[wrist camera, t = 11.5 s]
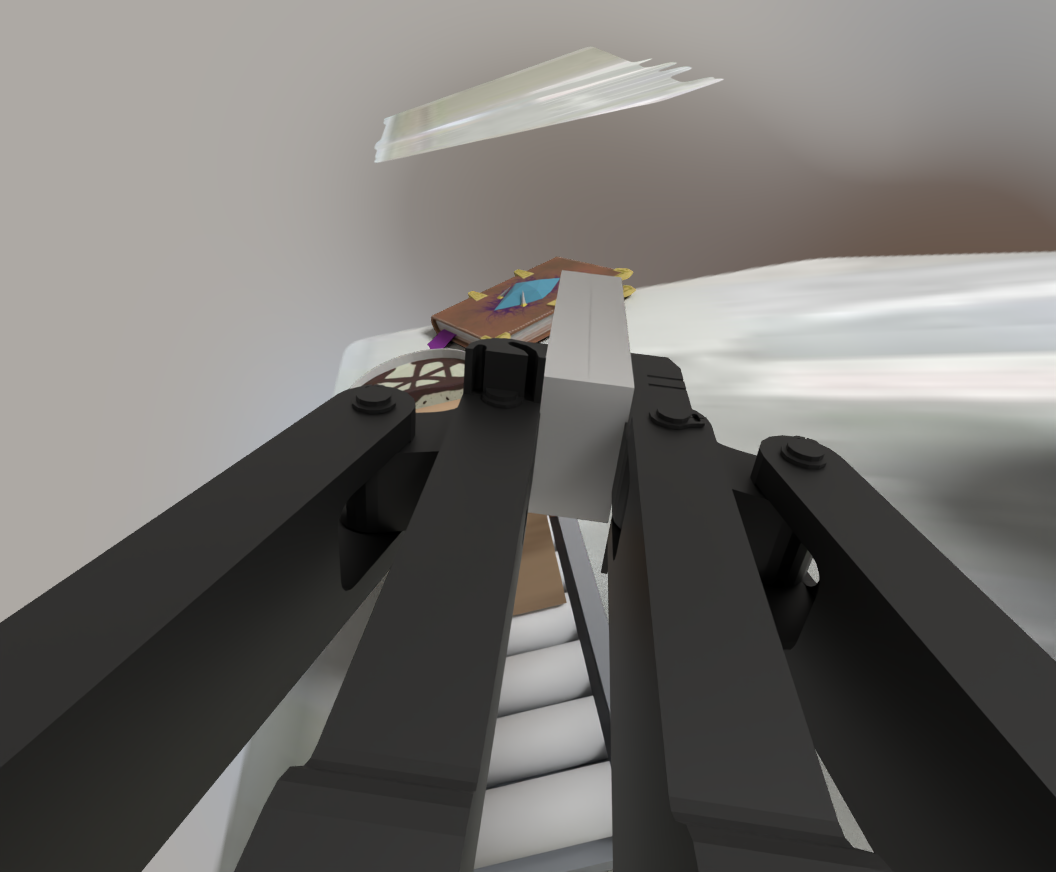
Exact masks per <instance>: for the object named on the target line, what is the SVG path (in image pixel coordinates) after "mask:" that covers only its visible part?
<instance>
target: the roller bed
mask: <svg viewBox="0 0 1056 872" xmlns="http://www.w3.org/2000/svg"><path fill="white" fill-rule="evenodd" d="M547 518H548V523H549V527H550V531H551V536H552V540H553V545H554V549H555V553H556V558H557V562H558V566H559V571H560V575H561V580H562V584H563V588H564V593H565V597H566V601H567V603H564V604H560V605H556V606H551V607H547V608H543V609H539V610H534V611H530V612H526V613H522V614H518V615H513V616H512V623H511V629H510V636H509V642H508V649H507V655H506V662H505V668H504V675H503V681H502V688H501V694H500V701H499V707H498V714H497V721H496V727H495V734H494V740H493V747H492V753H491V760H490V766H489V773H488V779H487V786H486V792H485V799H484V805H483V812H482V818H481V825H480V831H479V838H478V844H477V851H476V857H475V864H474V870H473V872H605V871H610V870H613V843H612V783H611V723H610V663H609V623H608V620H607V617H606V613H605V610H604V607H603V603H602V600H601V597H600V593H599V590H598V587H597V583H596V580H595V577H594V573H593V570H592V567H591V563H590V560H589V557H588V553H587V550H586V547H585V543H584V540H583V537H582V533H581V530H580V527H579V523H578V520H577V519H573V518H566V517H559V516H551V515H547Z"/></svg>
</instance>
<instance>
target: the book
mask: <svg viewBox="0 0 1056 872" xmlns="http://www.w3.org/2000/svg"><path fill="white" fill-rule="evenodd" d="M562 270H565V271H573V272H581V273H589V274H598V275H606V276H614V277H621V278H622V280H624V279H628V278H629V277H630V276H631V275H632V274H633V271H631V270H629V269H625V268H616V269H611V268H607V267H602V266H598V265H593V264H589V263H584V262H580V261H575V260H571V259H566V258H562V257H555V258H553V259H551V260H549V261H547V262H545V263H543V264H541V265H538V266H536V267H534V268H532V269H530V270H528V271H522V270H519V269H518V270H516V271H514V274H515V277H513V278H511V279H509V280H507V281H505V282H502V283H500V284H498V285H496V286H494V287H492V288H490V289H488V290H485V291H483V292H481V293H478V292H475V291H471V292H469V293H468V295H469V298H468V299H467V300H464V301H462V302H460V303H458V304H456V305H454V306H452V307H449V308H447V309H445V310H443V311H441V312H439V313H437V314H435V315H433V316H432V317H431V322H432V326H433V328H434V330H435V331H436V333H437V336H436V337H435V338H434V339H433V340H432V341H431V342H430V343H428V344H427V345H428V346H429V347H430V349H441V348H444V347H445V346H446V345H447V344H448V343H449V342H450V341H452V342H454V343H457V344H459V345H461V346H463V347H465V348H466V347H467V346H468V345H469V344H470V343H472V342H475V341H478V340H481V339H489V338H508V339H515V340H520V341H525V342H533V343H536V342H538V341H540V340H542V339H544V338H546V337H547V336H549V335H550V332H551V326H552V321H553V316H554V310H555V305H556V299H557V294H558V288H559V283H560V277H561V272H562ZM622 286H623V295H624V297H627V296H630V295H631V294H632V293H633V292H635V291H636V289H635V288H633V287H631V286H627V285H623V282H622Z"/></svg>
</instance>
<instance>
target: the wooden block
mask: <svg viewBox="0 0 1056 872" xmlns="http://www.w3.org/2000/svg"><path fill="white" fill-rule="evenodd" d="M460 400H461V399H458V400H453V401H449V402H445V403H440V404H436V405H432V406H428V407H423V408H419V409H416V413H422V412H439V411H446V410H450V409H455V408H457V407H458V405H459V402H460ZM564 603H567V601H566V597H565V593H564V588H563V584H562V580H561V575H560V571H559V566H558V562H557V558H556V553H555V549H554V545H553V540H552V536H551V531H550V527H549V523H548V518H547V515H544V514H536V513H529V512H528V515H527V524H526V531H525V538H524V544H523V551H522V558H521V564H520V571H519V577H518V584H517V590H516V597H515V603H514V610H513V615H518V614H522V613H526V612H530V611H534V610H539V609H543V608H547V607H551V606H556V605H560V604H564Z"/></svg>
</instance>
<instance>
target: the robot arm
mask: <svg viewBox="0 0 1056 872" xmlns="http://www.w3.org/2000/svg"><path fill="white" fill-rule="evenodd" d="M611 505H612V519H611V524H610V529H609V534H608V539H607V544H606V549H605V554H604V559H603V564H602V569H601V573H605V574H607V572H608V603H609V663H610V723H611V783H612V843H613V872H1056V661H1055V660H1054V659H1052V658H1051V657H1050V656H1049V655H1048V654H1047V653H1046V652H1045V651H1044V650H1043V649H1042V648H1041V647H1040V646H1039V645H1038V644H1037V643H1036V642H1035V641H1034V640H1033V639H1032V638H1030V637H1029V636H1028V635H1027V634H1026V633H1025V632H1024V631H1023V630H1022V629H1021V628H1020V627H1019V626H1018V625H1017V624H1016V623H1015V622H1014V621H1013V620H1012V619H1011V618H1010V617H1008V616H1007V615H1006V614H1005V613H1004V612H1003V611H1002V610H1001V609H1000V608H999V607H998V606H997V605H996V604H995V603H994V602H993V601H992V600H991V599H990V598H989V597H987V596H986V595H985V594H984V593H983V592H982V591H981V590H980V589H979V588H978V587H977V586H976V585H975V584H974V583H973V582H972V581H971V580H970V579H969V578H968V577H967V576H965V575H964V574H963V573H962V572H961V571H960V570H959V569H958V568H957V567H956V566H955V565H954V564H953V563H952V562H951V561H950V560H949V559H948V558H947V557H946V556H944V555H943V554H942V553H941V552H940V551H939V550H938V549H937V548H936V547H935V546H934V545H933V544H932V543H931V542H930V541H929V540H928V539H927V538H926V537H925V536H924V535H922V534H921V533H920V532H919V531H918V530H917V529H916V528H915V527H914V526H913V525H912V524H911V523H910V522H909V521H908V520H907V519H906V518H905V517H904V516H903V515H901V514H900V513H899V512H898V511H897V510H896V509H895V508H894V507H893V506H892V505H891V504H890V503H889V502H888V501H887V500H886V499H885V498H884V497H883V496H882V495H881V494H879V493H878V492H877V491H876V490H875V489H874V488H873V487H872V486H871V485H870V484H869V483H868V482H867V481H866V480H865V479H864V478H863V477H862V476H861V475H860V474H859V473H857V472H856V471H855V470H854V469H853V468H852V467H851V466H850V465H849V464H848V463H847V462H846V461H845V460H844V459H843V458H842V457H841V456H839V455H838V454H836V453H835V452H834V451H832V450H831V449H829V448H827V447H825V446H823V445H821V444H818V442H817V441H815V440H812V439H809V438H807V439H805V437H800V436H794V437H792V436H783V435H782V436H772V437H768V438H767V439H765V440H763V441H762V442H761V445H760V448H759V451H758V454H757V456H756V455H753V454H749V453H746V452H742V451H739V450H735V449H733V448H730V447H727V446H724V445H722V444H720V443H718V442H717V441H716V438H715V435H714V432H713V428H712V425H711V424H710V422H709V421H708V420H707V418H706V417H704V416H703V415H701V414H700V413H698V412H697V411H695V410H692V408H691V405H690V401H689V397H688V394H687V391H686V387H685V383H684V381H683V376H682V373H681V369H680V368H679V367H678V366H677V365H676V364H675V363H673V362H672V361H671V360H670V359H669V358H666V357H658V356H650V355H643V354H635V353H630V345H629V337H628V328H627V320H626V311H625V303H624V295H623V286H622V278H621V277H614V276H606V275H598V274H589V273H581V272H573V271H565V270H562V272H561V277H560V283H559V288H558V294H557V299H556V305H555V310H554V316H553V321H552V326H551V332H550V337H549V343H548V344H540V343H533V342H525V341H520V340H515V339H508V338H489V339H481V340H478V341H475V342H472V343H470V344H469V345H468V346H467V347H466V348H465V366H464V385H463V395H462V397H461V400H460V402H459V405H458V407H457V408H455V409H450V410H446V411H439V412H422V413H416V405H415V401H414V398H413V397H412V396H410V395H409V394H408V393H407V392H405V391H402V390H399V389H397V388H393V387H387V386H384V385H379V384H374V386H372V384H369V385H362V386H360V387H355V388H351V389H348V390H345V391H343V392H341V393H339V394H337V395H336V396H334V397H333V398H331V399H330V400H328V401H327V402H325V403H324V404H322V405H321V406H319V407H318V408H317V409H315V410H314V411H312V412H311V413H309V414H308V415H306V416H305V417H303V418H302V419H300V420H299V421H297V422H296V423H294V424H293V425H291V426H290V427H288V428H287V429H286V430H284V431H283V432H281V433H280V434H278V435H277V436H275V437H274V438H272V439H271V440H269V441H268V442H266V443H265V444H263V445H262V446H260V447H259V448H258V449H256V450H255V451H253V452H252V453H250V454H249V455H247V456H246V457H244V458H243V459H241V460H240V461H238V462H237V463H235V464H234V465H232V466H231V467H229V468H228V469H226V470H225V471H224V472H222V473H221V474H219V475H218V476H216V477H215V478H213V479H212V480H210V481H209V482H208V483H206V484H204V485H203V486H201V487H200V488H198V489H197V490H195V491H194V492H193V493H192V494H190V495H188V496H187V497H185V498H184V499H182V500H181V501H179V502H178V503H176V504H175V505H173V506H172V507H170V508H169V509H167V510H166V511H165V512H163V513H162V514H160V515H159V516H157V517H156V518H154V519H153V520H151V521H150V522H149V523H147V524H145V525H144V526H142V527H141V528H140V529H138V530H137V531H135V532H134V533H132V534H131V535H129V536H128V537H126V538H125V539H123V540H122V541H120V542H119V543H117V544H116V545H114V546H113V547H111V548H110V549H108V550H107V551H105V552H104V553H103V554H101V555H100V556H98V557H97V558H95V559H94V560H92V561H91V562H89V563H88V564H86V565H85V566H84V567H82V568H81V569H79V570H77V571H76V572H75V573H73V574H72V575H70V576H69V577H67V578H66V579H64V580H63V581H61V582H60V583H58V584H57V585H55V586H54V587H52V588H51V589H49V590H48V591H47V592H45V593H44V594H42V595H41V596H39V597H38V598H36V599H35V600H33V601H32V602H30V603H29V604H27V605H26V606H24V607H23V608H22V609H20V610H18V611H17V612H16V613H14V614H13V615H11V616H10V617H8V618H7V619H5V620H4V621H2V622H1V623H0V872H142V870H143V869H144V868H145V867H146V865H147V864H148V863H149V862H150V860H151V859H152V858H153V857H154V856H155V854H156V853H157V852H158V851H159V850H160V848H161V847H162V846H163V844H164V843H165V842H166V841H167V840H168V839H169V837H170V836H171V835H172V834H173V832H174V831H175V830H176V829H177V827H178V826H179V825H180V824H181V823H182V822H183V820H184V819H185V818H186V817H187V815H188V814H189V813H190V812H191V811H192V809H193V808H194V807H195V806H196V804H197V803H198V802H199V801H200V799H201V798H202V797H203V796H204V795H205V793H206V792H207V791H208V790H209V789H210V787H211V786H212V785H213V784H214V783H215V781H216V780H217V779H218V778H219V776H220V775H221V774H222V773H223V772H224V770H225V769H226V768H227V767H228V765H229V764H230V763H231V762H232V761H233V759H234V758H235V757H236V756H237V754H238V753H239V752H240V751H241V750H242V748H243V747H244V746H245V745H246V744H247V742H248V741H249V740H250V739H251V737H252V736H253V735H254V734H255V733H256V731H257V730H258V729H259V728H260V726H261V725H262V724H263V723H264V722H265V720H266V719H267V718H268V717H269V716H270V714H271V713H272V712H273V711H274V709H275V708H276V707H277V706H278V705H279V703H280V702H281V701H282V700H283V698H284V697H285V696H286V695H287V694H288V692H289V691H290V690H291V689H292V687H293V686H294V685H295V684H296V683H297V681H298V680H299V679H300V678H301V677H302V675H303V674H304V673H305V672H306V670H307V669H308V668H309V667H310V666H311V664H312V663H313V662H314V661H315V659H316V658H317V657H318V656H319V655H320V653H321V652H322V651H323V650H324V648H325V647H326V646H327V645H328V644H329V642H330V641H331V640H332V639H333V638H334V636H335V635H336V634H337V633H338V631H339V630H340V629H341V628H342V627H343V625H344V624H345V623H346V622H347V620H348V619H349V618H350V617H351V616H352V614H353V613H354V612H355V611H356V609H357V608H358V607H359V606H360V605H361V603H362V602H363V601H364V600H365V599H366V597H367V596H368V595H369V594H370V592H371V591H372V590H373V589H374V588H375V586H376V585H377V584H378V583H379V581H380V580H381V579H382V578H383V577H384V575H385V574H386V573H387V572H388V571H389V569H390V571H389V573H388V575H387V578H386V580H385V583H384V585H383V587H382V590H381V592H380V595H379V597H378V600H377V602H376V604H375V607H374V609H373V612H372V614H371V616H370V619H369V621H368V624H367V626H366V628H365V631H364V633H363V636H362V638H361V640H360V643H359V645H358V648H357V650H356V652H355V655H354V657H353V660H352V662H351V664H350V667H349V669H348V672H347V674H346V677H345V679H344V681H343V684H342V686H341V689H340V691H339V693H338V696H337V698H336V701H335V703H334V705H333V708H332V710H331V713H330V715H329V717H328V720H327V722H326V725H325V727H324V729H323V732H322V734H321V737H320V739H319V741H318V744H317V746H316V748H315V750H314V752H313V754H312V756H311V758H310V759H309V761H308V762H307V763H306V764H305V765H304V766H292V767H289V768H288V770H287V771H286V772H285V773H284V774H283V775H282V776H281V777H280V778H279V780H278V781H277V783H276V785H275V787H274V789H273V790H272V792H271V794H270V796H269V798H268V800H267V802H266V803H265V805H264V807H263V809H262V812H261V814H260V816H259V818H258V820H257V823H256V825H255V827H254V829H253V831H252V834H251V836H250V838H249V840H248V842H247V845H246V847H245V849H244V851H243V853H242V856H241V858H240V860H239V862H238V864H237V867H236V869H235V871H234V872H473V870H474V864H475V857H476V851H477V844H478V838H479V831H480V825H481V818H482V812H483V805H484V799H485V792H486V786H487V779H488V773H489V766H490V760H491V753H492V747H493V740H494V734H495V727H496V721H497V714H498V707H499V701H500V694H501V688H502V681H503V675H504V668H505V662H506V655H507V649H508V642H509V636H510V629H511V623H512V616H513V610H514V603H515V597H516V590H517V584H518V577H519V571H520V564H521V558H522V551H523V544H524V538H525V531H526V524H527V515H528V512H529V513H536V514H544V515H551V516H559V517H566V518H573V519H581V520H588V521H596V522H603V523H608V520H609V515H610V510H611ZM812 558H814V560H815V562H816V564H817V567H818V571H819V581H818V583H816V582H815V581H814V580H813V579H812V577H811V576H810V575H809V573H808V572H807V570H808V568H809V566H810V563H811V561H812ZM815 750H816V751H817V753H818V755H819V757H820V758H821V760H822V762H823V764H824V765H825V767H826V769H827V771H828V772H829V774H830V776H831V778H832V779H833V781H834V783H835V785H836V786H837V788H838V790H839V792H840V793H841V795H842V797H843V799H844V800H845V802H846V804H847V806H848V807H849V809H850V811H851V813H852V815H853V816H854V818H855V820H856V822H857V823H858V825H859V827H860V829H861V830H862V832H863V834H864V836H865V837H866V839H867V841H868V843H869V844H870V846H871V848H872V850H873V851H874V853H872V852H868V851H864V850H860V849H857V848H853V846H852V845H851V844H850V843H849V842H848V841H847V839H846V838H845V836H844V834H843V832H842V829H841V827H840V825H839V823H838V820H837V817H836V813H835V810H834V807H833V804H832V801H831V798H830V795H829V791H828V788H827V785H826V782H825V779H824V776H823V773H822V770H821V766H820V763H819V760H818V757H817V754H816V751H815Z"/></svg>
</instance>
